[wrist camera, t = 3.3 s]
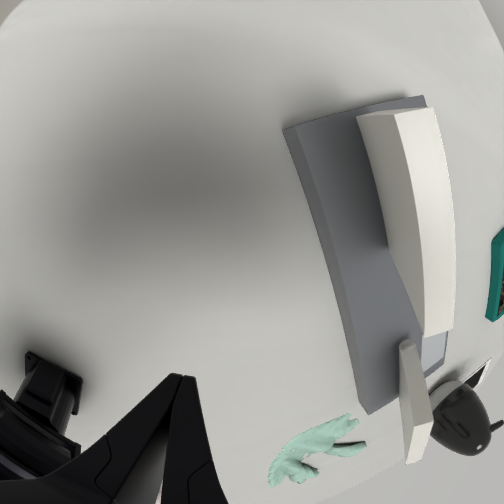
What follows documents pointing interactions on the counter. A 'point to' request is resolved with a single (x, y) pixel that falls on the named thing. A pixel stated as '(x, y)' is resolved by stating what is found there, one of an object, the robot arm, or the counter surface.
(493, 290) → the digital multimeter
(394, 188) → the white square panel
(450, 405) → the black egg-shaped device
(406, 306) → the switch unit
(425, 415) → the lever
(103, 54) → the counter surface
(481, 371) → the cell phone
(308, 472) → the cloth
